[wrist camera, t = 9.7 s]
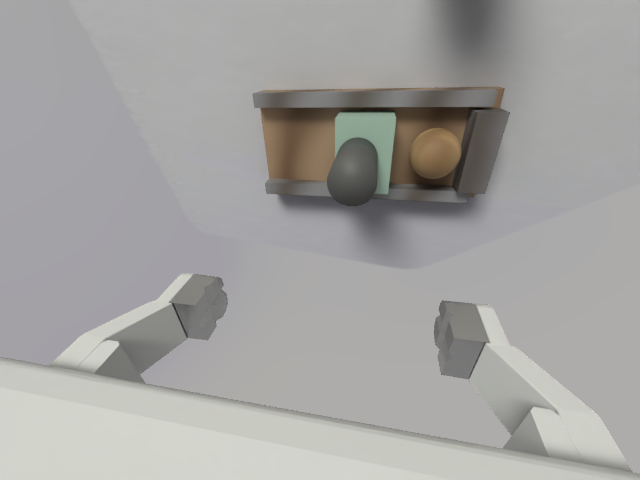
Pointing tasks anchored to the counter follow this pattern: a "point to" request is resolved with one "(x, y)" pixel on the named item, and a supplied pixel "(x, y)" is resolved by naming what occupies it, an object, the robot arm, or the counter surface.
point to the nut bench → (411, 120)
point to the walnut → (435, 153)
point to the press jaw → (361, 156)
